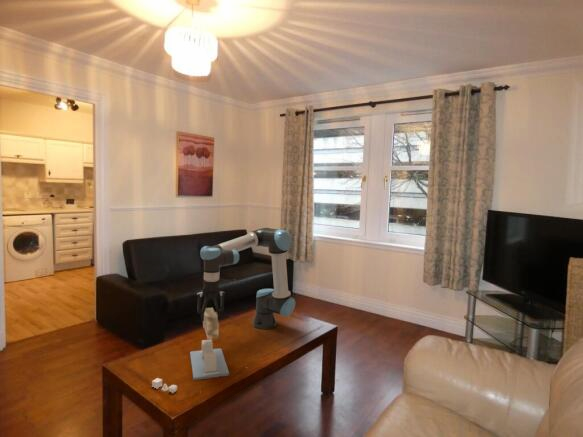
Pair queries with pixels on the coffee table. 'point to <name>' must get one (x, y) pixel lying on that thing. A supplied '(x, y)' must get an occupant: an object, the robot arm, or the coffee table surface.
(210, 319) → the maple beam
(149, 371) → the coffee table surface
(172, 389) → the game pieces
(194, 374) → the blueprint board
